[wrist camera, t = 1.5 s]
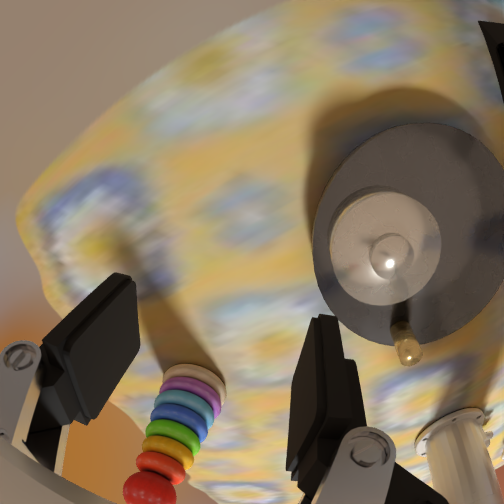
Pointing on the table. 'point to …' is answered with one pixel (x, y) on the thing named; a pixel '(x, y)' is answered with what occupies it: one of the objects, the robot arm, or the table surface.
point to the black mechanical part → (495, 48)
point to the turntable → (448, 220)
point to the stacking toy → (175, 433)
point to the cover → (383, 245)
